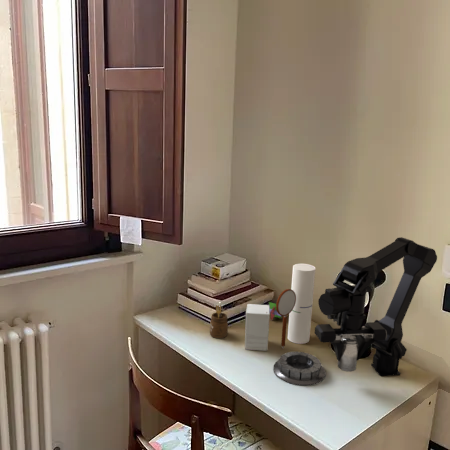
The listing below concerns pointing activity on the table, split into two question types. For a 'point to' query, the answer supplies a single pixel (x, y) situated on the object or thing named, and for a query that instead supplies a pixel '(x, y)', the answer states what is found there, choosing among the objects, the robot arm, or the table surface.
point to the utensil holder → (218, 324)
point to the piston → (349, 353)
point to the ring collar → (299, 369)
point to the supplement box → (257, 327)
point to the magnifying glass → (285, 309)
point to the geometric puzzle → (273, 310)
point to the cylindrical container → (301, 303)
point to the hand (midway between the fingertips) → (347, 360)
